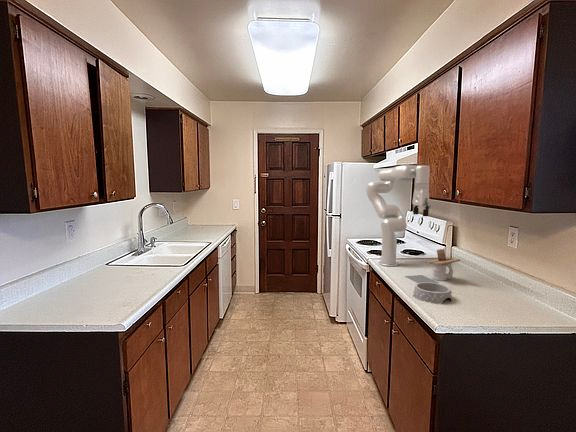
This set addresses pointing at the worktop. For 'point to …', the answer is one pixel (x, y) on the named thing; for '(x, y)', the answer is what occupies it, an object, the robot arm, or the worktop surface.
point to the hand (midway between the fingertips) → (420, 215)
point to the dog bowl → (425, 295)
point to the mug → (441, 272)
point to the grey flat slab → (420, 279)
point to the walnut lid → (442, 259)
